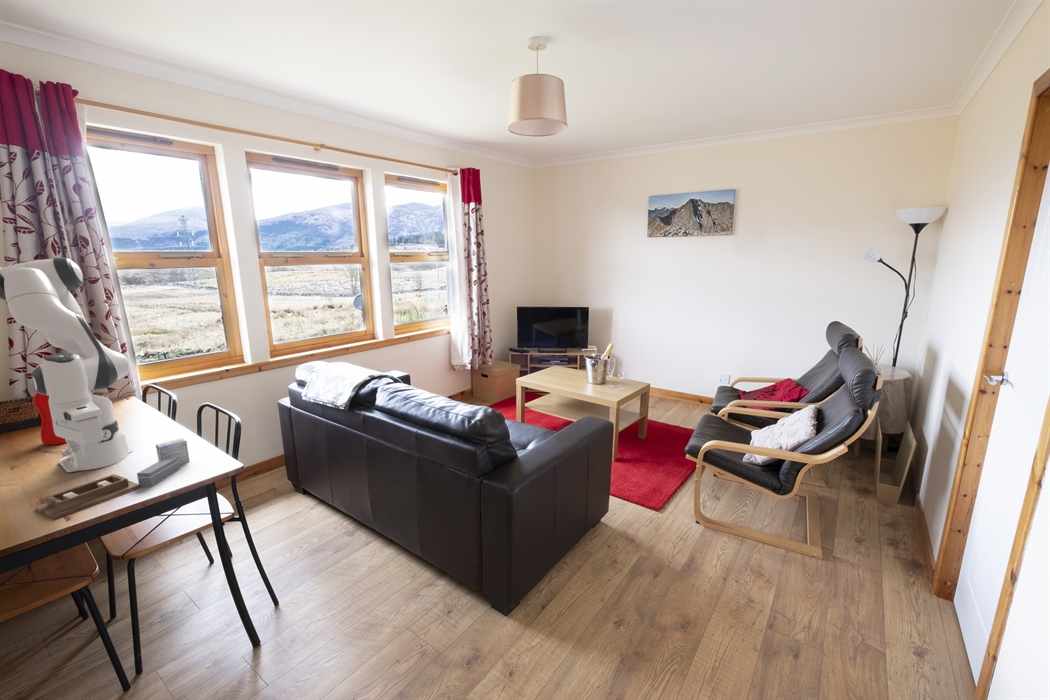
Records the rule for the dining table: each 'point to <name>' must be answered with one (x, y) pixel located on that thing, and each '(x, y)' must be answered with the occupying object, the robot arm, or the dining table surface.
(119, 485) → the brown wooden tray
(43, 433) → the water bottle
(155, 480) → the gray rectangular box
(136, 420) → the dining table surface
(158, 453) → the medicine box
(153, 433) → the dining table surface
